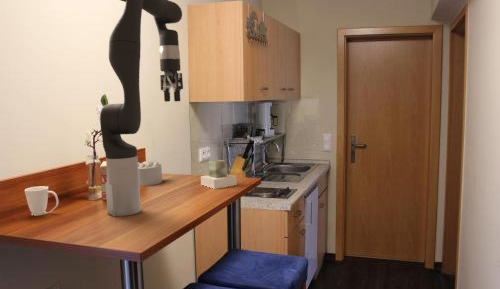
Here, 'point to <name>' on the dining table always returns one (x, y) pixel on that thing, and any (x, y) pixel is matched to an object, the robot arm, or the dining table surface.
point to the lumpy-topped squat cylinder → (149, 173)
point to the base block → (218, 181)
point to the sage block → (217, 168)
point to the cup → (39, 199)
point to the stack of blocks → (103, 179)
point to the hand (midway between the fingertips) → (172, 101)
